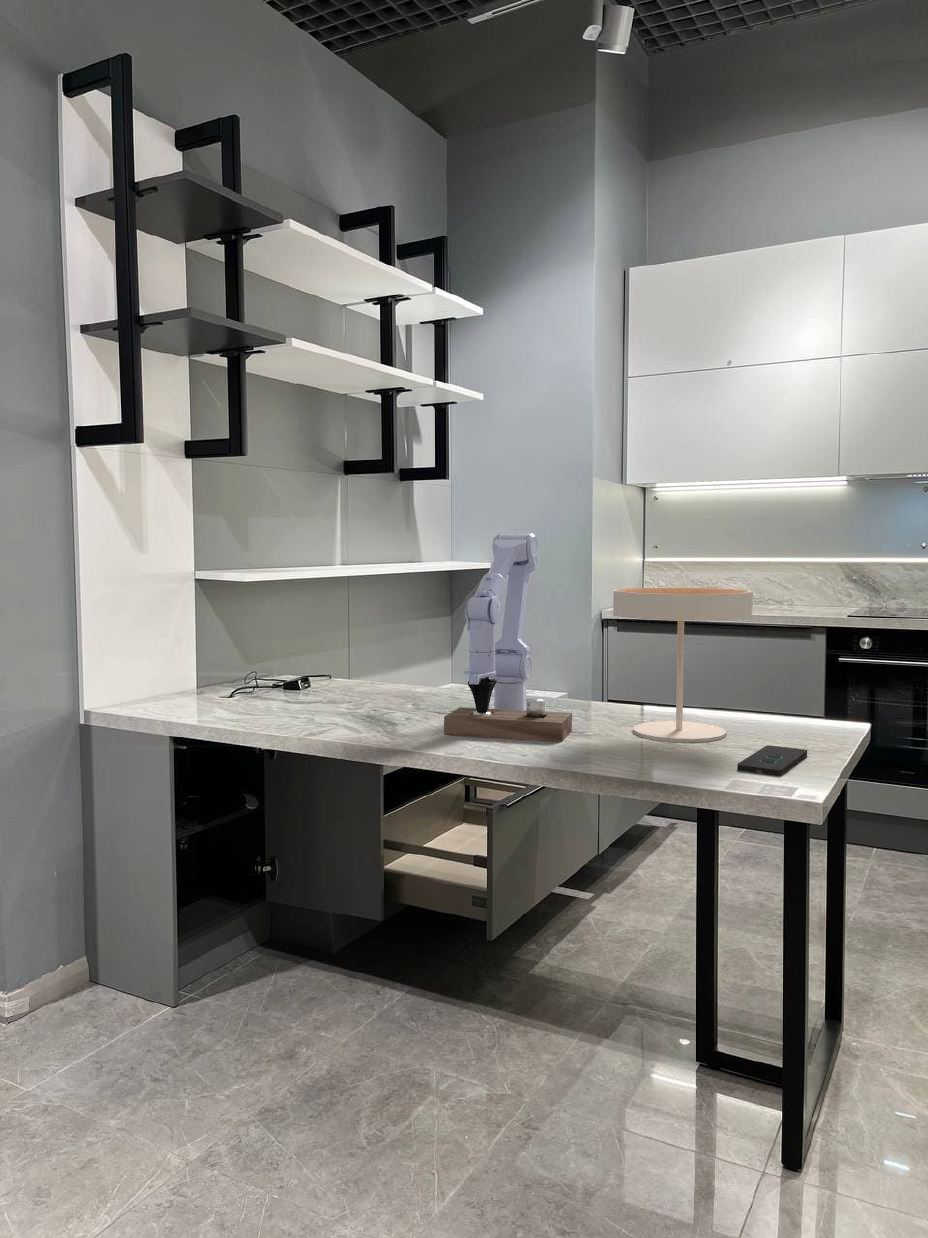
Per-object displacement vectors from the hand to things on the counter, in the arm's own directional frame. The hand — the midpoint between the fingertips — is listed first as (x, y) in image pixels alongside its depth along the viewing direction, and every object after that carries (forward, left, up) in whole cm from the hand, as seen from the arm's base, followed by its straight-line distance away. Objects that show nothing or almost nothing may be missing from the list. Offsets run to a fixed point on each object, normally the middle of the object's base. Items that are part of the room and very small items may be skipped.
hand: (482, 712), depth 208 cm
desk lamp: (-10, +42, -4) cm, 43 cm away
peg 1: (0, 0, -4) cm, 4 cm away
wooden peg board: (0, +6, -4) cm, 7 cm away
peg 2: (0, +12, -1) cm, 12 cm away
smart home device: (+14, +61, -5) cm, 63 cm away
